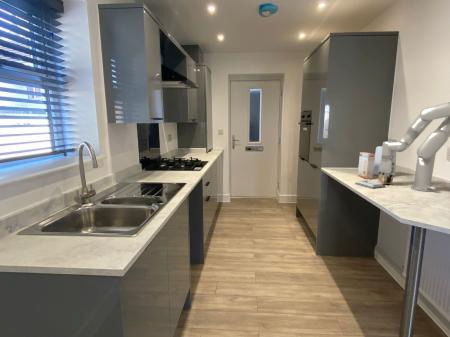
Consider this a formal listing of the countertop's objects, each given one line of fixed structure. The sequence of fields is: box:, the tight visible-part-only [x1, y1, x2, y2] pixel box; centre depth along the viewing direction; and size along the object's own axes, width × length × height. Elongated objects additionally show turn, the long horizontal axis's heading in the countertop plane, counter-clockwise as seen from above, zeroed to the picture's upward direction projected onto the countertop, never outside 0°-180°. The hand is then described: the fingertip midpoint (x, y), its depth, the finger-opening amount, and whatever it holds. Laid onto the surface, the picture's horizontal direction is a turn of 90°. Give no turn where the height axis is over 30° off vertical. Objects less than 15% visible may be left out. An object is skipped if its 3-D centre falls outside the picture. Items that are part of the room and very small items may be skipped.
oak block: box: [377, 174, 394, 185], centre depth 195 cm, size 4×9×6 cm, turn 109°
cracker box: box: [357, 151, 375, 180], centre depth 217 cm, size 14×6×21 cm, turn 179°
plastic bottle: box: [373, 143, 397, 177], centre depth 226 cm, size 15×15×28 cm
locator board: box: [354, 179, 387, 190], centre depth 191 cm, size 15×13×2 cm
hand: (385, 181), depth 195 cm, fingers closed on oak block, 4 cm apart
